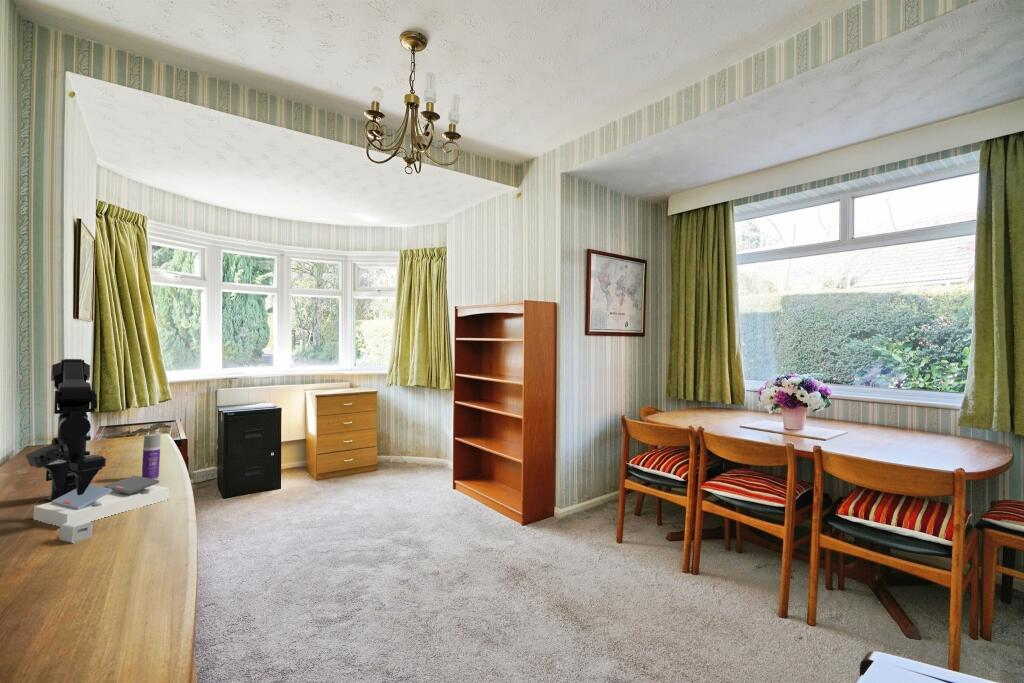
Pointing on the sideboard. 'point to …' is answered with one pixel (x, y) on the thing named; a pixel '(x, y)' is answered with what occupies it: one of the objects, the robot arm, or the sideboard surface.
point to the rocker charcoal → (132, 484)
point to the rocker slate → (82, 497)
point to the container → (151, 456)
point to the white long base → (100, 506)
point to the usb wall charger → (75, 531)
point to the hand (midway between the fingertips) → (69, 492)
